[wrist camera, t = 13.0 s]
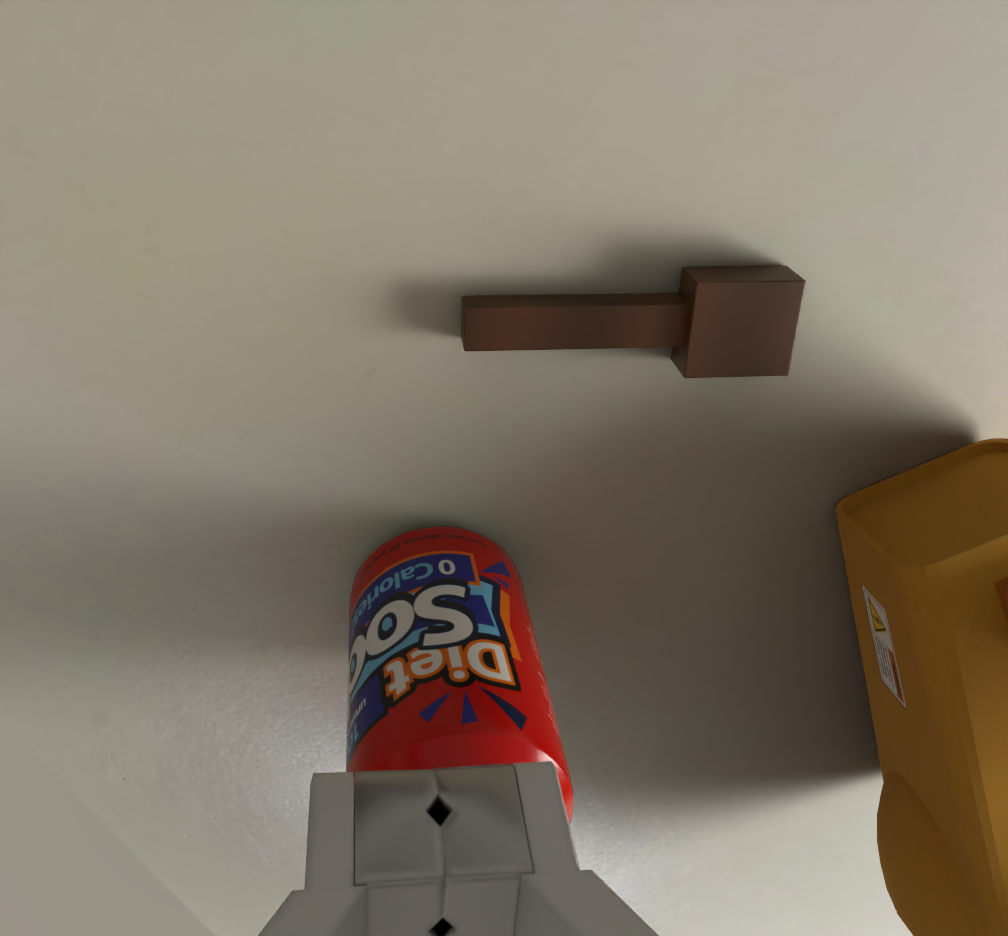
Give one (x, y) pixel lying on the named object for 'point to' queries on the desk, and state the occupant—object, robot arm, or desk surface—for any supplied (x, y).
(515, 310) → the wooden mallet
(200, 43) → the desk surface
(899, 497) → the flared yellow plastic housing
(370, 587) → the soda can
